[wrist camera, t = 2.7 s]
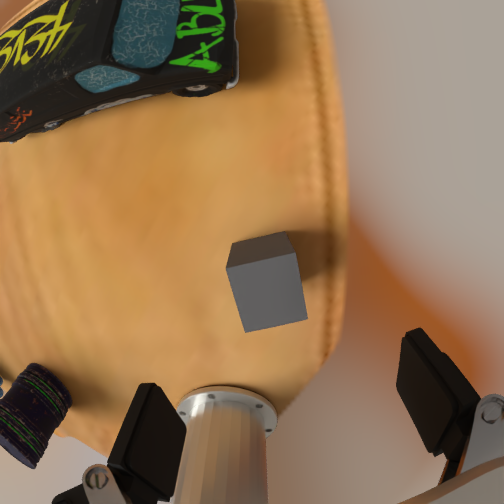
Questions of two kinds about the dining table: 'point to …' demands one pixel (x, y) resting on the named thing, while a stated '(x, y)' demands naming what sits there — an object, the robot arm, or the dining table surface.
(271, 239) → the grey block
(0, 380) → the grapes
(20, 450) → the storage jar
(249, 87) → the dining table surface
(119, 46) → the toy van
